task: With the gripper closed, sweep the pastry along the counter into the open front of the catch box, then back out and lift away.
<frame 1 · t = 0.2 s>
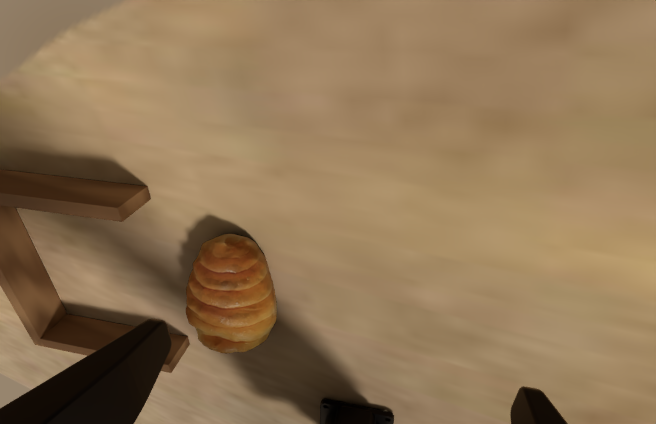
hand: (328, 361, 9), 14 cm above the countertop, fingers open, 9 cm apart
pastry: (237, 282, 29), on the countertop
catch box: (99, 264, 31), on the countertop
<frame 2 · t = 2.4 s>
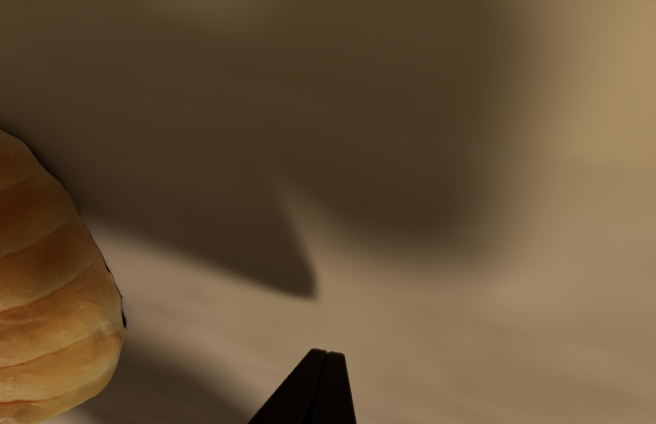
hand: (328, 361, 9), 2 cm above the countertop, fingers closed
pastry: (42, 259, 13), on the countertop
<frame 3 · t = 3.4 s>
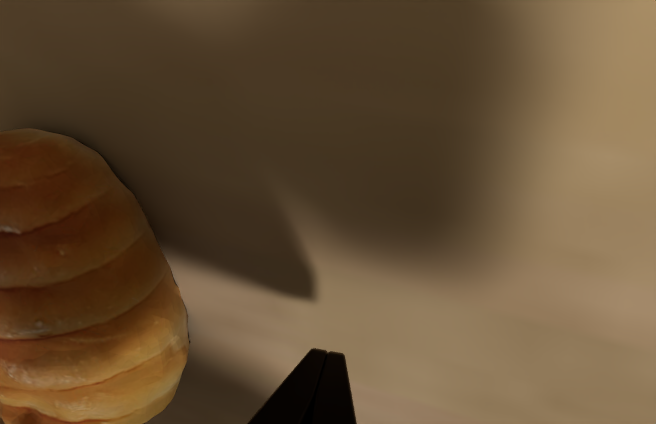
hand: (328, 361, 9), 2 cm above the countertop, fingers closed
pastry: (102, 273, 13), on the countertop
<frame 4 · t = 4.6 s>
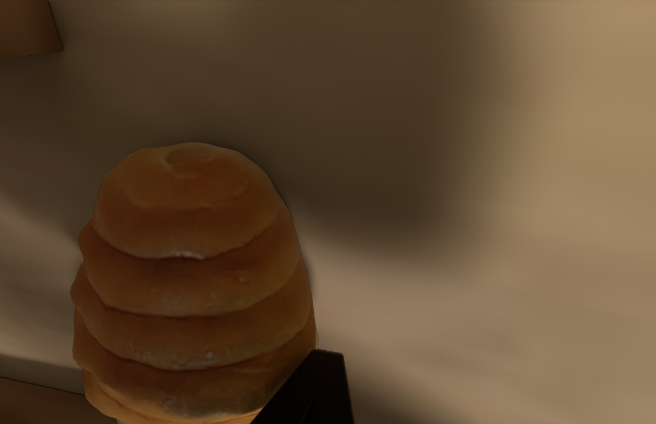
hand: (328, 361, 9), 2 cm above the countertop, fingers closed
pastry: (220, 290, 12), on the countertop, touching gripper
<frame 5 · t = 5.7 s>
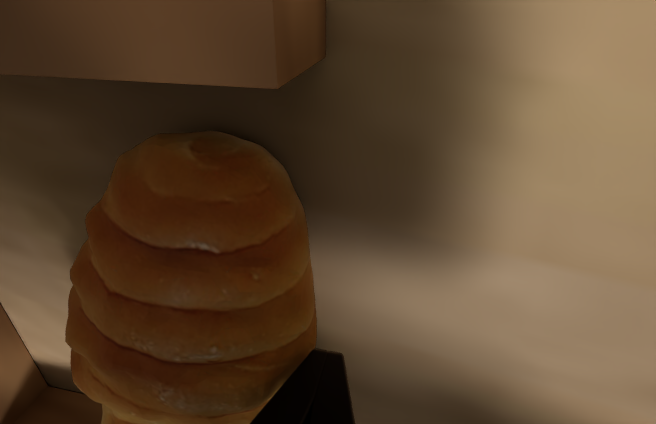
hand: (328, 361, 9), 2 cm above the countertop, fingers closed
pastry: (219, 281, 12), on the countertop, touching gripper
catch box: (126, 283, 12), on the countertop
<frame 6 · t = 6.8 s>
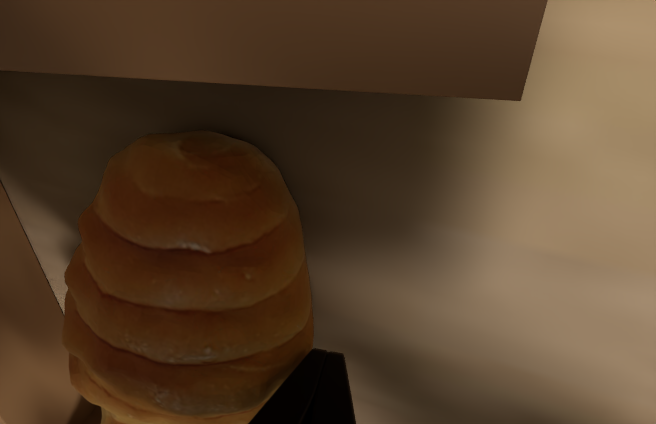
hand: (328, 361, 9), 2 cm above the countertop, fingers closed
pastry: (216, 282, 12), on the countertop
catch box: (208, 296, 11), on the countertop
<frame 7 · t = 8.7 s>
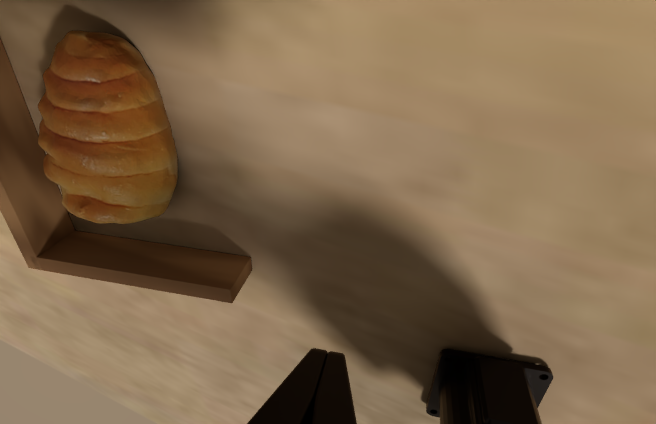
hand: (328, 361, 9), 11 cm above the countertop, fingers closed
pastry: (127, 133, 21), on the countertop
catch box: (128, 138, 21), on the countertop
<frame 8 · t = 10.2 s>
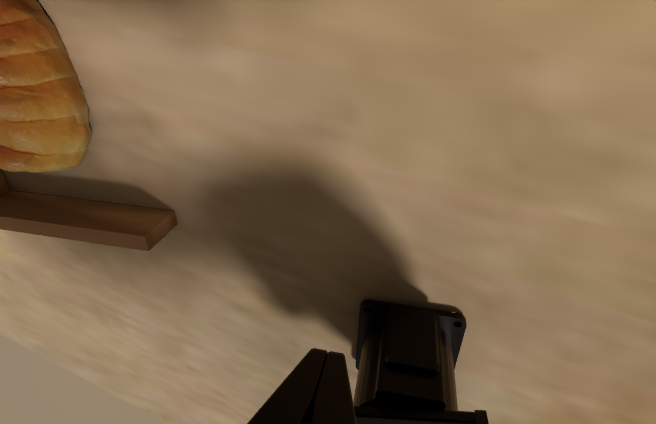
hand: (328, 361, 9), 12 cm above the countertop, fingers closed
pastry: (42, 88, 22), on the countertop
catch box: (46, 91, 21), on the countertop
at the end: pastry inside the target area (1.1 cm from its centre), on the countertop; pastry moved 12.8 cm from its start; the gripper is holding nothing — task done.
